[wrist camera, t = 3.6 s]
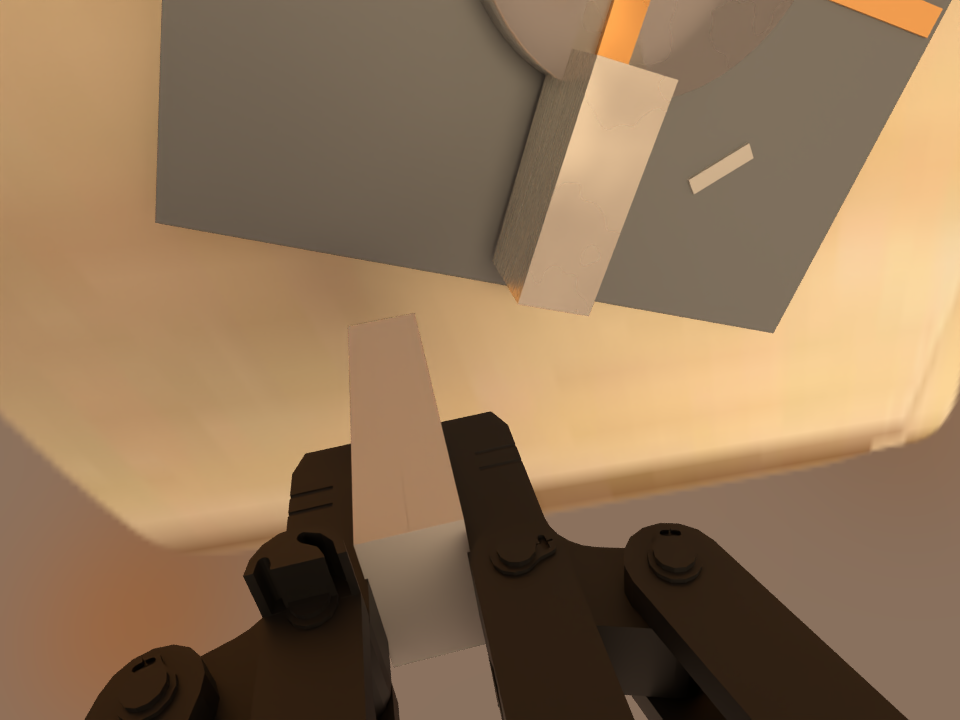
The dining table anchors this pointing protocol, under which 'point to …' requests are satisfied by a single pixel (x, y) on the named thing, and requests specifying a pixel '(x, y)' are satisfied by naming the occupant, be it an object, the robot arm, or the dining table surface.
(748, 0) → the dial
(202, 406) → the dining table surface
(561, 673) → the robot arm
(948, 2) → the panel
